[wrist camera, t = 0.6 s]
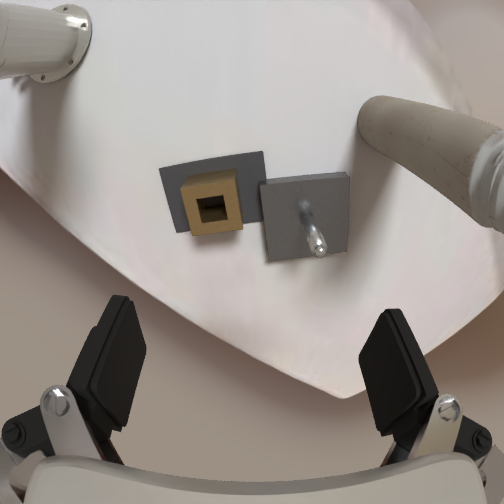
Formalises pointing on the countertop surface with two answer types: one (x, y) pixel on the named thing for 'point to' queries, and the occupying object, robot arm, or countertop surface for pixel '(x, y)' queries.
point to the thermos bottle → (442, 152)
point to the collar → (217, 215)
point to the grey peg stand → (306, 215)
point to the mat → (248, 179)
